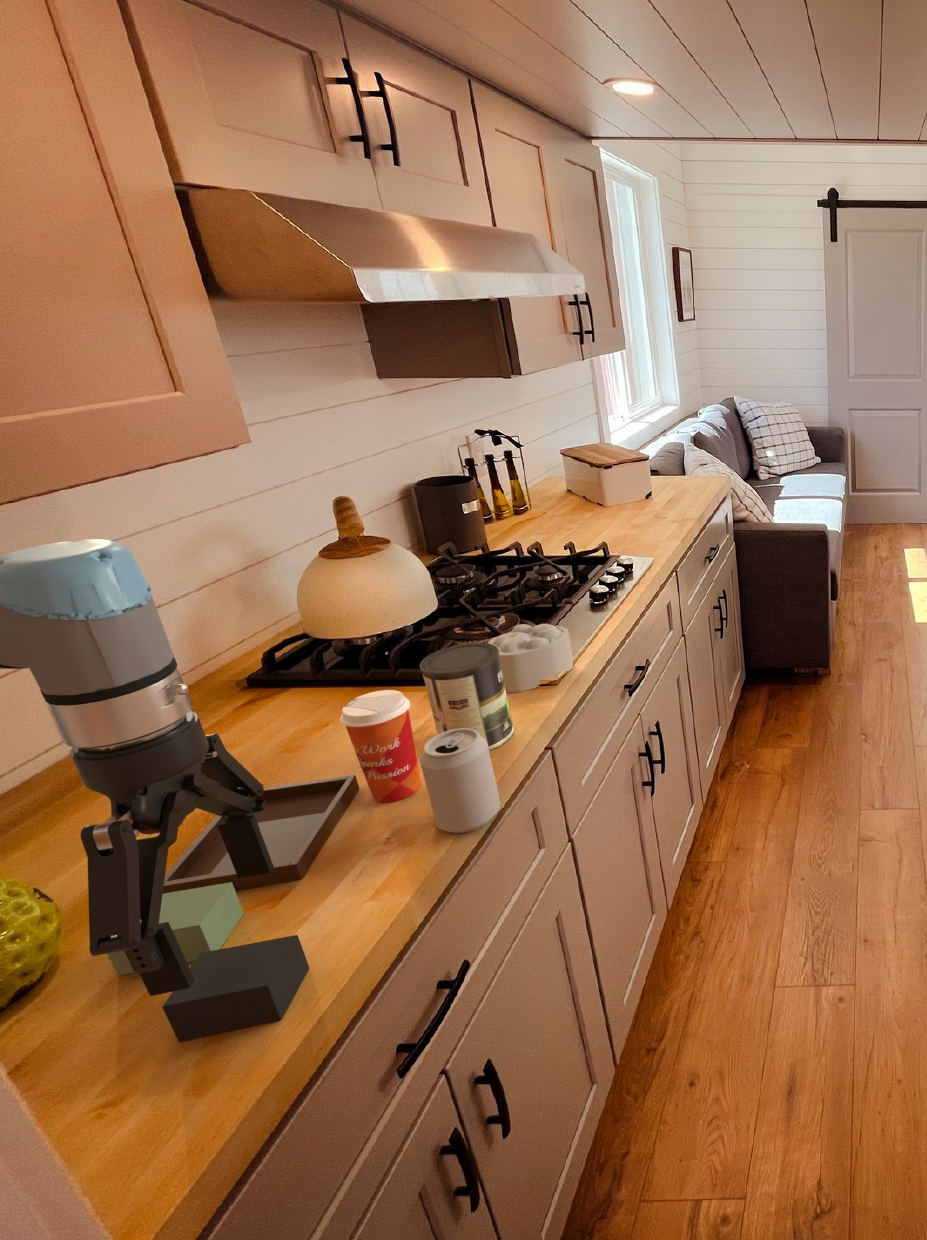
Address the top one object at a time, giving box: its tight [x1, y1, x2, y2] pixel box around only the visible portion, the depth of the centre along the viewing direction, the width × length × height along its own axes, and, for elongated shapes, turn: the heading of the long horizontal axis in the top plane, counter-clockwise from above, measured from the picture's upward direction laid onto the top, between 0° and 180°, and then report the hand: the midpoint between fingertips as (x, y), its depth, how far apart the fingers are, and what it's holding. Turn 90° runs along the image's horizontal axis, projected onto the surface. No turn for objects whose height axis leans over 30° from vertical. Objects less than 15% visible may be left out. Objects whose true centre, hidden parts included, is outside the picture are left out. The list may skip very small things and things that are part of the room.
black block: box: [161, 934, 310, 1043], centre depth 69 cm, size 8×6×4 cm
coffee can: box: [419, 642, 515, 751], centre depth 110 cm, size 10×10×14 cm
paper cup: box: [339, 689, 421, 804], centre depth 98 cm, size 8×8×14 cm
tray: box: [163, 774, 360, 894], centre depth 90 cm, size 14×18×2 cm
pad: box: [106, 882, 245, 977], centre depth 75 cm, size 8×6×4 cm
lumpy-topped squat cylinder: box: [487, 623, 574, 694], centre depth 130 cm, size 10×13×9 cm
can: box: [419, 728, 501, 834], centre depth 93 cm, size 8×8×12 cm
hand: (218, 925), depth 66 cm, fingers open, 13 cm apart
